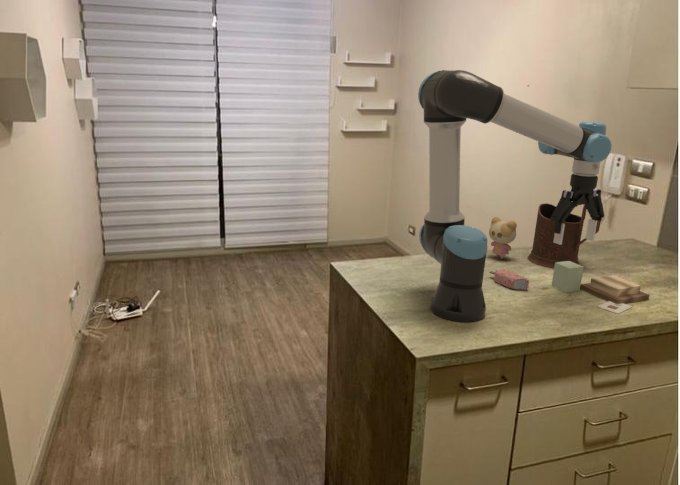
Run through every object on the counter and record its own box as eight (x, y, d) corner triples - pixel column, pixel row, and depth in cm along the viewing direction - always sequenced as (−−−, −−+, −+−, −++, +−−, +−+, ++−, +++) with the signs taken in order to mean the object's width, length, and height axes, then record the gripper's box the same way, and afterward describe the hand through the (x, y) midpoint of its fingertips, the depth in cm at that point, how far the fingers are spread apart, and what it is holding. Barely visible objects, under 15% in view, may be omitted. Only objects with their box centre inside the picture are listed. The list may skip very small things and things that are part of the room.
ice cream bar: (497, 265, 182) (533, 277, 170) (496, 277, 183) (532, 290, 171) (484, 267, 178) (520, 280, 166) (483, 279, 179) (518, 293, 167)
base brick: (616, 305, 161) (619, 292, 160) (579, 288, 174) (581, 276, 172) (648, 299, 167) (651, 287, 166) (610, 283, 179) (612, 272, 178)
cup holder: (547, 251, 213) (557, 188, 206) (604, 269, 194) (617, 201, 187) (516, 257, 203) (525, 192, 196) (574, 277, 184) (587, 205, 177)
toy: (481, 256, 202) (486, 217, 198) (494, 252, 208) (499, 214, 204) (504, 263, 195) (509, 223, 191) (517, 259, 201) (522, 220, 196)
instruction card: (618, 314, 155) (618, 312, 155) (597, 307, 159) (597, 305, 159) (631, 307, 160) (632, 305, 160) (611, 300, 165) (611, 299, 165)
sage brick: (565, 292, 170) (569, 268, 168) (551, 285, 175) (555, 262, 173) (579, 290, 172) (583, 266, 170) (565, 283, 178) (569, 260, 175)
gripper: (563, 177, 155) (552, 248, 161) (624, 174, 165) (612, 241, 171) (544, 173, 162) (534, 241, 168) (604, 170, 172) (592, 235, 178)
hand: (573, 241), depth 169 cm, fingers open, 13 cm apart
